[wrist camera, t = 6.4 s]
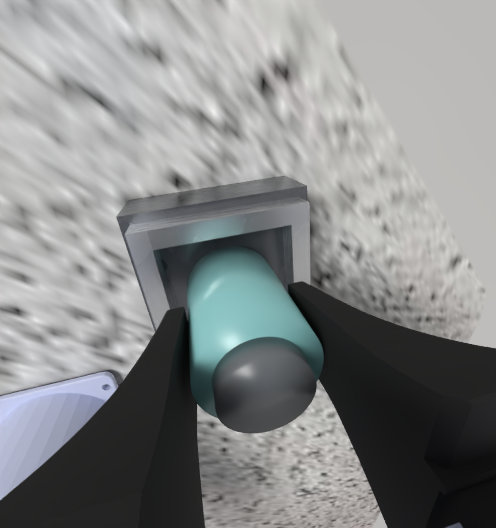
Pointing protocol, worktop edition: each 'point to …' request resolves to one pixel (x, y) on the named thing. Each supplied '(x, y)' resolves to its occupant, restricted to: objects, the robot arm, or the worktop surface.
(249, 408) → the teal capped cylinder
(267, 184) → the grey flat square block
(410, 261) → the worktop surface
